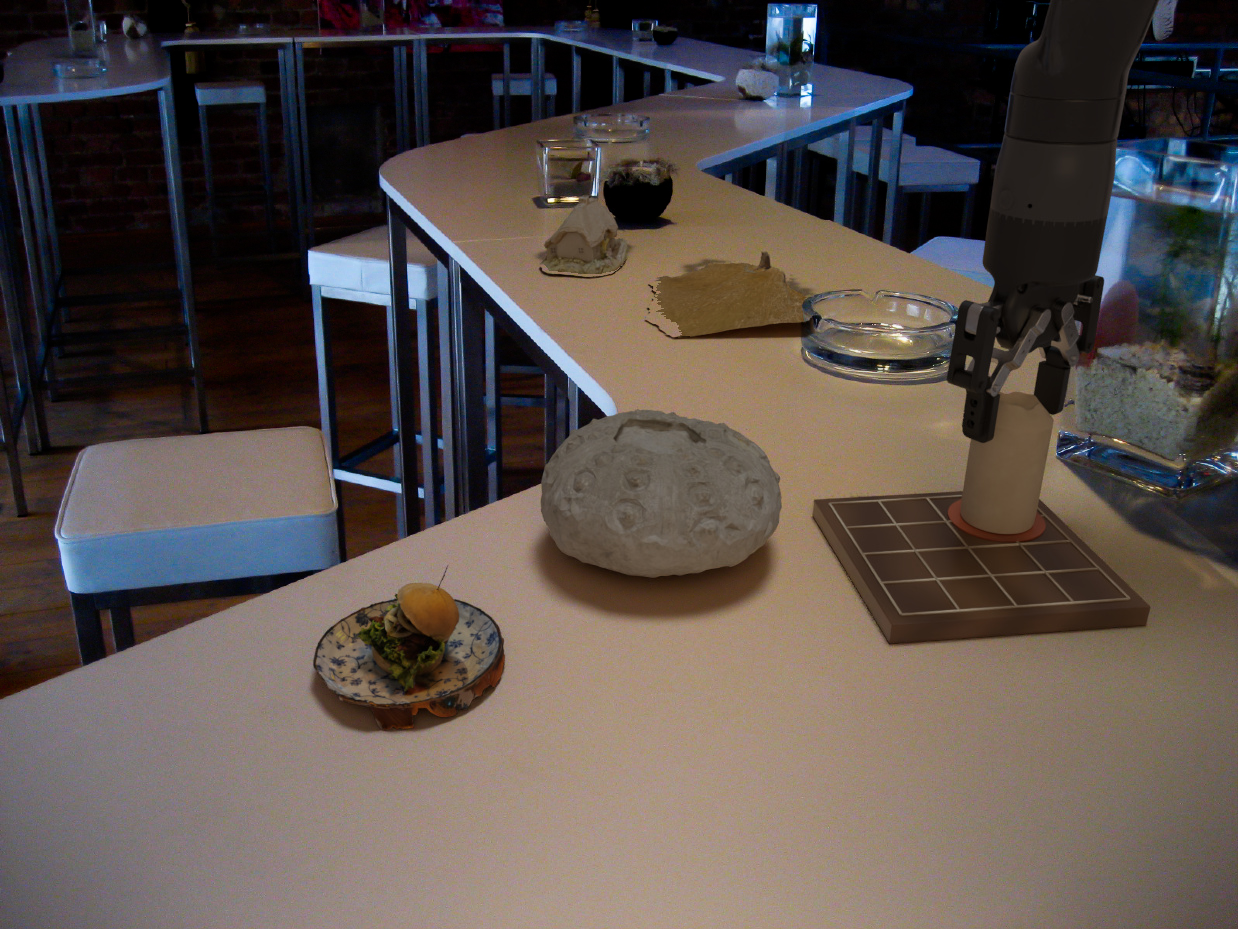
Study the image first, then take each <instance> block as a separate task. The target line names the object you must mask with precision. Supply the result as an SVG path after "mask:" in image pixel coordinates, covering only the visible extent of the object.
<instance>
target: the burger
mask: <svg viewBox="0 0 1238 929" xmlns="http://www.w3.org/2000/svg"><path fill="white" fill-rule="evenodd" d="M448 568H449V565H447V566H446V567H445V571H444V572H443V575H442V578H441V580H440V582H439V583H438V585H436V584H433V583H428V582H409V583H406V584H405V585H403V586H402V587H401V588H399V589H397V593H395V594H394V597H395V598H391V599H389V600H382V601H379V602H374V603H371V604H370V605H369V606H366V607H365V606H364V607H361V608H359V609H358V610H355V611H354V612H352V613H350V614H349V615H347V616H345V617H343V618H340V620H338V621H337V622H336V623H334V624H333V625H332V626H330V627H329V628H328V629H327V630H326V631H325V632H324V634H323V635H322V636H321V638H320V639H319V641H318V642H317V646H316V647H315V650H314V654H313V655H314V656H313V661H312V665H313V668H314V670H315V671H316V672H317V674H318V675H319V676H320V678H321V680H322V681H323V683H324V684H325V686H326V688H327V689H328V690H329V691H331V692H333V693H334V694H335V695H336V696H338V697H339V701H342V702H345V703H348V704H349V705H359V706H362V707H368V708H369V709H370V710H371V712H372V714H373V718H374V720H375V722H376V723H377V725H378V727H379V729H381V730H382V731H389V730H391V729H392V728H395V729H396V730H399V729H402V730H404V729H407V730H408V729H413V728H414V715H415V716H416V715H417V714H418V712H419V709H427V710H428V711H429V712H430V713H431V714H433V715H435V716H437V717H442V718H447V717H449V718H450V717H453V716H456V715H457V714H458V711H459V710H468V708H469V707H470V705H471V703H472V701H473V700H475V699H476V698H477V697H482V694H483V692H484V690H485V689H487V688H489V686H490V687H492V688H495V687H496V686H497V683H498V681H499V680H500V679H501V678H502V674H503V669H504V666H505V665H506V664H505V663H506V654H505V649H504V644H505V639H504V638H505V637H503V636H502V631H501V627H500V626H499V624H498V623H497V622H496V621H495V619H493V617H492V616H491V615H489V614H488V613H486V611H484V610H483V609H481V608H480V607H477V606H475V605H473V604H471V603H469V602H466V601H464V600H460V599H456V598H453V596H452V595H451V594H450V593H449V592H448V591H446V590H445V589H443V588H442V587H441V585H442V584H441V583H442V582H443V580H444V578H445V577H446V573H447V569H448Z"/></svg>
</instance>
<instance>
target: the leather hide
mask: <svg viewBox="0 0 1238 929" xmlns="http://www.w3.org/2000/svg"><path fill="white" fill-rule="evenodd" d="M760 253H761V256H760V260H759V264H758V265H756V264H751V263H749V262H739V263H737V262H729V263H718V262H717V263H716V262H715V263H714V262H712V261H711V262H709V263H706V264H705V266H704V267H701V268H700V269H698V270H692V271H690V272H686V273H682V274H681V275H678V276H669V275H663V276H660V277H657V279H656V280H655V281H661V283H658V284H659V285H657V287H656V288H657V290H656V291H660V292H661V293H659V294H656V295H658V296H657V297H655V298H657V299H658V300H657V301H661V302H658V303H657V304H658V305H661V308H664V309H661V310H658V311H656V312H664V313H662V314H661V315H666V316H664V317H666V319H670V320H671V322H676V323H677V325H679V327H678V329H679V330H681V331H679V332H682V333H681V334H682V335H680V336H690V337H697V336H703V335H709V334H715V333H721V332H726V331H731V330H737V329H738V330H739V329H745V328H754V327H763V326H767V325H775V324H776V325H777V324H787V323H790V324H791V323H792V324H793V323H794V324H795V323H797V324H799V323H805V322H804V318H803V311H802V304H803V302H804V299H805V298H808V297H807V296H805V295H803V293H802V292H800V291H796V290H795V289H793V288H792V287H791V286H790V285H789V283H788V282H787V279H786V273H785V272H784V271H783V270H780V268H779V267H775V266H772V264H771V258H770V254H769V252H767V251H761V252H760ZM802 295H803V296H802Z"/></svg>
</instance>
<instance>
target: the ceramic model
mask: <svg viewBox="0 0 1238 929" xmlns="http://www.w3.org/2000/svg"><path fill="white" fill-rule="evenodd" d="M618 231H619V226H618V224H617V221H616V219H615V218H614V216H613V215H612V213H611V212H610V211H609V209H608V208H607V207H606V206H605V205H604V204H602V203H601V202H600V201H599V199H598V198H597V197H590V196H589V195H586V194H582V195H580V196H579V197H578V204H576V205H574V206H573V209H572V211H571V212H570V213H569V214H568V216H566V218H564V220H563V222H562V223H561V224H560V226H559V227H558V229H557V230H556V231H555V232H554V233H553V234H552V235H551V236H550V237H549V238H548V239H547V240H545V241H544V244H543V246H544V249H546V255H545V259H543V260H542V261H541V263H540V264H544V265H545V266H546V267H547V268H548V270H549V271H558V272H571V273H578V274H602V273H606V272H611V271H615V270H617V269H618V268H619V267H620V266H621V265H622V264H623V263H624V264H625V262H626V259H627V254H628V249H629V247H628V243H627V241H626V239H625V238H617V237H618ZM624 261H625V262H624ZM624 264H623V265H624Z"/></svg>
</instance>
